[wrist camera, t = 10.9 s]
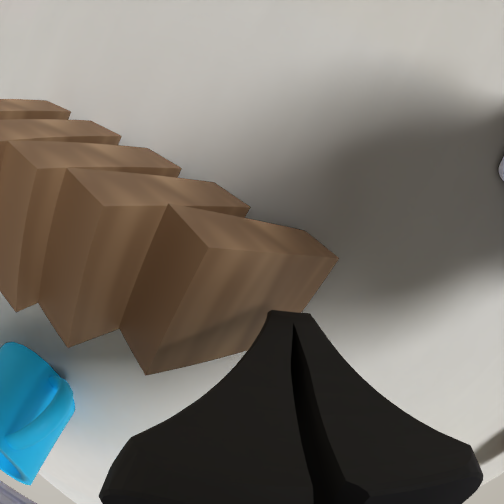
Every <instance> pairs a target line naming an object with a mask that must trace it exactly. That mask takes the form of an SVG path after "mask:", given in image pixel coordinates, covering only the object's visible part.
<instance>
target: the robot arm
mask: <svg viewBox="0 0 504 504" xmlns="http://www.w3.org/2000/svg"><path fill="white" fill-rule="evenodd" d="M499 175H500V177H501V179H502V180H503V181H504V157H503V159H502V161H501V163H500V166H499ZM482 481H483V473H482V471H481V468H480V466H479V464H478V461H477V459H476V457H475V454H474V452H473V450H472V448H471V446H470V445H468V444H466V443H464V442H461V441H459V440H457V439H454V438H452V437H450V436H447V435H445V434H443V433H441V432H438V431H436V430H434V429H433V428H431V427H429V426H427V425H425V424H424V423H422V422H420V421H418V420H417V419H415V418H413V417H412V416H410V415H409V414H407V413H406V412H404V411H403V410H401V409H400V408H398V407H397V406H396V405H394V404H393V403H391V402H390V401H389V400H387V399H386V398H385V397H383V396H382V395H381V394H380V393H379V392H377V391H376V390H375V389H374V388H373V387H372V386H371V385H369V384H368V383H367V382H366V381H365V380H364V379H363V378H362V377H361V376H360V375H359V374H358V373H357V372H356V371H355V370H354V369H353V368H352V367H351V366H350V365H349V364H348V363H347V362H346V360H345V359H344V358H343V357H342V356H341V355H340V354H339V352H338V351H337V350H336V348H335V347H334V346H333V345H332V343H331V342H330V341H329V339H328V338H327V337H326V335H325V334H324V333H323V331H322V330H321V328H320V327H319V326H318V324H317V323H316V321H315V320H314V318H313V317H312V316H311V314H308V313H297V312H288V311H278V310H271V311H269V312H268V313H267V318H266V321H265V323H264V325H263V327H262V329H261V331H260V333H259V334H258V336H257V337H256V339H255V341H254V342H253V344H252V345H251V347H250V348H249V349H248V351H247V352H246V353H245V355H244V356H243V357H242V358H241V360H240V361H239V362H238V363H237V364H236V366H235V367H234V368H233V369H232V370H231V371H230V372H229V373H228V374H227V375H226V376H225V377H224V378H223V379H222V380H221V381H220V382H219V383H218V384H216V385H215V386H214V387H213V388H212V389H211V390H210V391H208V392H207V393H206V394H205V395H203V396H202V397H201V398H200V399H198V400H197V401H195V402H194V403H192V404H191V405H189V406H188V407H186V408H185V409H183V410H182V411H180V412H179V413H177V414H176V415H174V416H173V417H171V418H169V419H167V420H166V421H164V422H162V423H160V424H158V425H156V426H154V427H152V428H150V429H148V430H146V431H143V432H141V433H139V434H137V435H135V436H133V437H131V438H130V439H129V440H128V442H127V443H126V444H125V446H124V447H123V449H122V450H121V451H120V453H119V454H118V456H117V458H116V459H115V460H114V462H113V464H112V466H111V467H110V469H109V472H108V474H107V477H106V479H105V482H104V484H103V486H102V489H101V491H100V494H99V498H100V500H101V502H102V503H103V504H462V503H463V502H464V501H465V500H466V499H468V498H469V497H470V496H471V495H472V494H473V493H474V492H475V491H476V490H477V489H478V487H479V486H480V484H481V483H482ZM0 504H37V503H35V502H33V501H31V500H30V499H28V498H26V497H25V496H23V495H21V494H20V493H18V492H17V491H15V490H14V489H12V488H11V487H9V486H8V485H6V484H5V483H3V482H2V481H0Z"/></svg>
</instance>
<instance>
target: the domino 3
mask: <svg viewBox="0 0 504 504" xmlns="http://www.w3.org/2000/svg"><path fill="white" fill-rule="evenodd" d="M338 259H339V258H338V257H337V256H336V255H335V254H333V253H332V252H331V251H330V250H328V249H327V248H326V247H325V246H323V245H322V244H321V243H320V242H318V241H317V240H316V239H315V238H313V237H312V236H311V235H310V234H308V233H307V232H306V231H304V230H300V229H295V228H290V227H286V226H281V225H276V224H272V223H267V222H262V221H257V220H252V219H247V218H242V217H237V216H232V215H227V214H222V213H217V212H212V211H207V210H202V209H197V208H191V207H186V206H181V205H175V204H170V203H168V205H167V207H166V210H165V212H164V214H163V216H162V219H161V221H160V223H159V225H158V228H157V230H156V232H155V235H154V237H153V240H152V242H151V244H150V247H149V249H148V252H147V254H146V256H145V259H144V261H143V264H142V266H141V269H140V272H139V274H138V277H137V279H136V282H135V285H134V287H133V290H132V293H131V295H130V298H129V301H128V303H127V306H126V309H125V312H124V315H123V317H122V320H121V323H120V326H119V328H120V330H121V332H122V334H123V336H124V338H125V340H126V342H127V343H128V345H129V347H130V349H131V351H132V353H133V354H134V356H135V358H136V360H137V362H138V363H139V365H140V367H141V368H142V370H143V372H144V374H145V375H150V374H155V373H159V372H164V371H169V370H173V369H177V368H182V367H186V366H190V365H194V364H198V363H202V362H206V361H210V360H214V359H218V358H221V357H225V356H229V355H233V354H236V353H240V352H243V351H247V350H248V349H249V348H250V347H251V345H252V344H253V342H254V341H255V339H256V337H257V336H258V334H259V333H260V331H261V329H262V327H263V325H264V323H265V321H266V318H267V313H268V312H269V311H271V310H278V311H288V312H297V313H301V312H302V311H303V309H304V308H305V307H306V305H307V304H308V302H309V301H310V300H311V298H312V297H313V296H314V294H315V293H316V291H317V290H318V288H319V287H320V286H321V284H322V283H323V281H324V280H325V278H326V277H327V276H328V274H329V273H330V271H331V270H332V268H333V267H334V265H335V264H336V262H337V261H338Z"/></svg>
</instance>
